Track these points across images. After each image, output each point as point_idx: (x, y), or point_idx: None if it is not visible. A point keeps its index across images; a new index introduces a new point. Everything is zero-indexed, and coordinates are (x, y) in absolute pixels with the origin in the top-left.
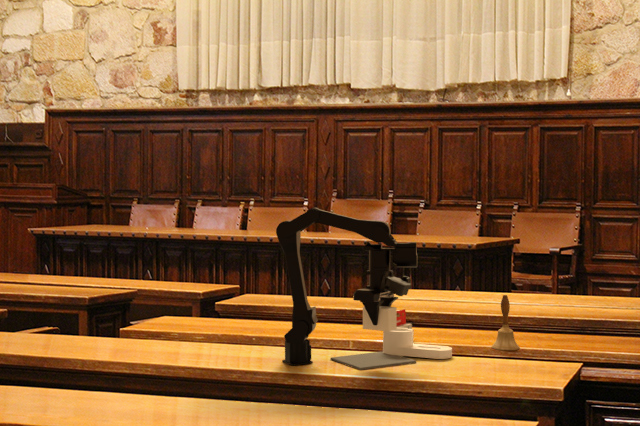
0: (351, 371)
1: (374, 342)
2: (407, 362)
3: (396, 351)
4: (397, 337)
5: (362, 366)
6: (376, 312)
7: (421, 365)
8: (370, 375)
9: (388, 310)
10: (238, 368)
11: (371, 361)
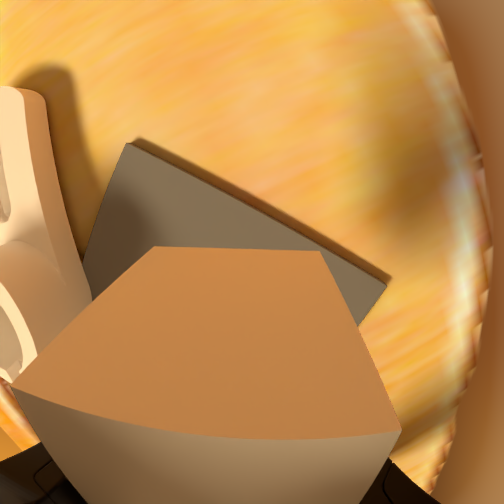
0: (412, 299)
1: (9, 391)
2: (167, 163)
3: (76, 277)
4: (37, 299)
5: (360, 292)
6: (404, 477)
7: (166, 95)
8: (448, 206)
9: (393, 410)
10: (424, 480)
11: None
